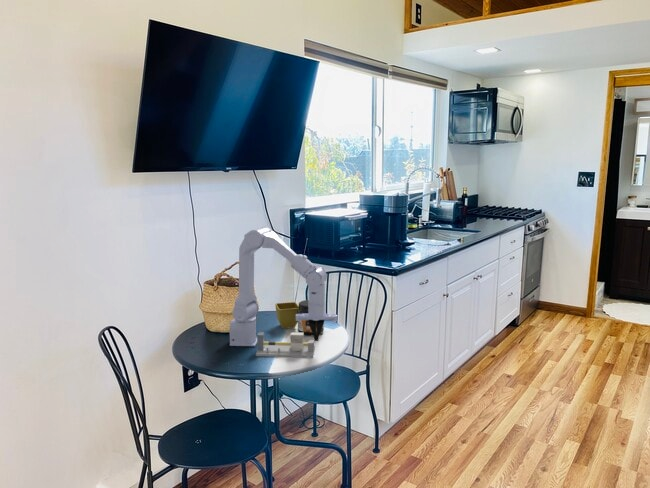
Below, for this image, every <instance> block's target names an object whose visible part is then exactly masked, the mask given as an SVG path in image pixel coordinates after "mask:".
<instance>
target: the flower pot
mask: <svg viewBox="0 0 650 488" xmlns="http://www.w3.org/2000/svg"><path fill="white" fill-rule="evenodd" d="M298 310H299V304H298V303H297V302H296V301H291V302H288V301H287V302H277V303H275V313H276V318H277V321H278V323H279V325H280V326H281V328H282V329H294V328H296V327H297V326H298V321H296V314H297V311H298Z"/></svg>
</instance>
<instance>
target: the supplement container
mask: <svg viewBox="0 0 650 488" xmlns="http://www.w3.org/2000/svg"><path fill="white" fill-rule="evenodd" d="M298 306H299V310H298V311H297V314H305V313H308V299H306V300H301V301H299V302H298ZM324 325H325V324H324ZM324 325H323V327H322V329H321V331H320V334H319V335H322V334H323V333H324V330H325V326H324ZM297 332H304V337H314V336H313V333H312V330H311V328H310V326H309V320H299V321H298V323H297ZM316 332H317V322H316Z"/></svg>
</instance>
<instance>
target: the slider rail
mask: <svg viewBox="0 0 650 488" xmlns="http://www.w3.org/2000/svg"><path fill="white" fill-rule="evenodd" d="M256 338H257V343H256V347H257V350H256V352H255V357H278V358H282V357H283V358H284V357H285V358H286V357H287V358H314V354H315V349H316V345H315V341H314V339H309V340H308V341H307V342H305V341H304V342H303V346H304V349H303V347H301V351H292V347H291V341H265V332H261V331H259V332H257V334H256Z"/></svg>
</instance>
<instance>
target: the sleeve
mask: <svg viewBox="0 0 650 488" xmlns="http://www.w3.org/2000/svg"><path fill="white" fill-rule="evenodd" d="M289 337H290V341H289V342H291V347H292V351H301V347H303V349H304V346H303V342H305V335H304V332H298V331H296V332H293V331H291V332H290V336H289Z"/></svg>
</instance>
